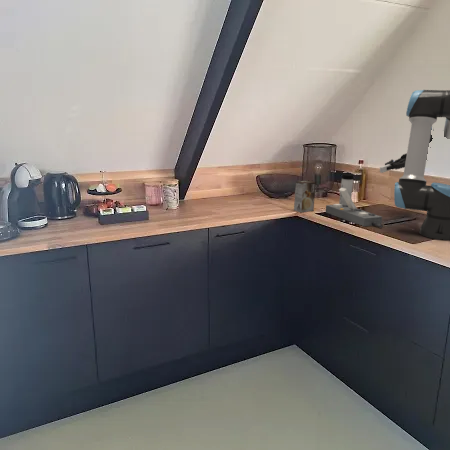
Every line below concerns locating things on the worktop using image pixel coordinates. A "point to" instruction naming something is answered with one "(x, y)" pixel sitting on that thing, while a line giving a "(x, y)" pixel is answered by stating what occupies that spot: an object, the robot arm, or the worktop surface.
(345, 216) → the power strip
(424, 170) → the robot arm
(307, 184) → the coffee box
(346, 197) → the middle rocker lever
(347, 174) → the travel mug
